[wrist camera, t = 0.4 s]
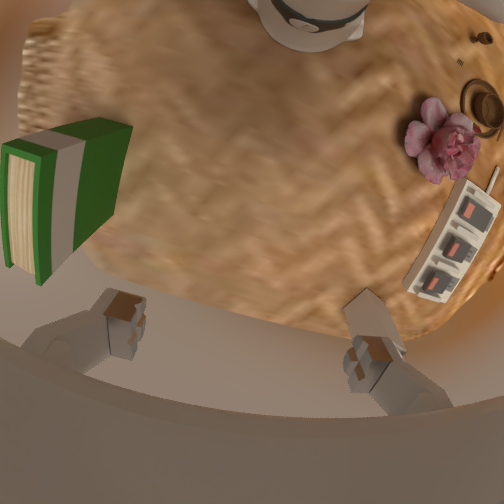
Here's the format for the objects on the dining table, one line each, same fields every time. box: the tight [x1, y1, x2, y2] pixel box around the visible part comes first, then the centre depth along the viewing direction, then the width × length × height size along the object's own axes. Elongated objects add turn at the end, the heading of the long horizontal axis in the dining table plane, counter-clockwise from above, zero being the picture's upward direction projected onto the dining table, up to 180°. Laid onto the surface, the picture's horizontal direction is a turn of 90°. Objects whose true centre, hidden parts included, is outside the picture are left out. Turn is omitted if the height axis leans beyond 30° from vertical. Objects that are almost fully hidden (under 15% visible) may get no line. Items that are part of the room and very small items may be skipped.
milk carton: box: [343, 288, 407, 362], centre depth 51 cm, size 7×7×19 cm
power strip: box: [402, 166, 501, 303], centre depth 46 cm, size 33×13×6 cm, turn 162°
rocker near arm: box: [458, 196, 493, 233], centre depth 42 cm, size 4×7×2 cm, turn 72°
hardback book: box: [0, 117, 133, 286], centre depth 36 cm, size 18×7×24 cm, turn 158°
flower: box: [405, 97, 481, 184], centre depth 37 cm, size 15×15×10 cm
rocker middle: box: [442, 235, 472, 263], centre depth 46 cm, size 4×7×2 cm, turn 72°
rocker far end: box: [421, 270, 453, 294], centre depth 50 cm, size 4×7×2 cm, turn 72°
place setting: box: [457, 32, 504, 142], centre depth 32 cm, size 18×20×6 cm
